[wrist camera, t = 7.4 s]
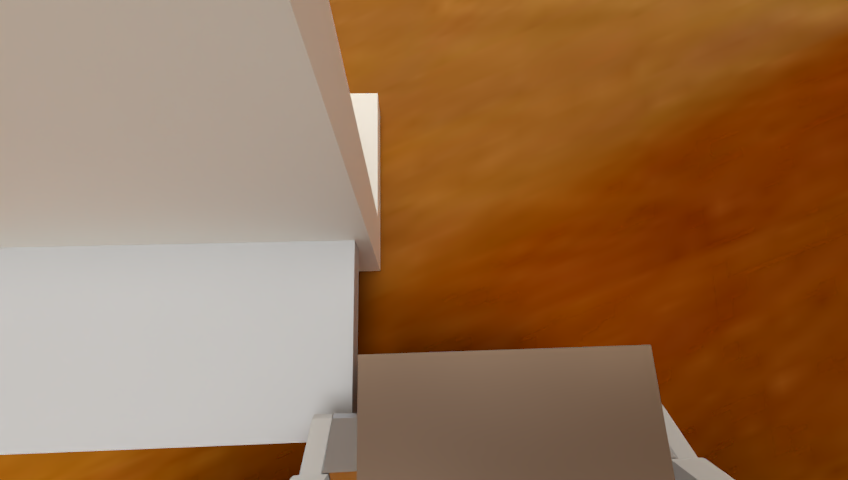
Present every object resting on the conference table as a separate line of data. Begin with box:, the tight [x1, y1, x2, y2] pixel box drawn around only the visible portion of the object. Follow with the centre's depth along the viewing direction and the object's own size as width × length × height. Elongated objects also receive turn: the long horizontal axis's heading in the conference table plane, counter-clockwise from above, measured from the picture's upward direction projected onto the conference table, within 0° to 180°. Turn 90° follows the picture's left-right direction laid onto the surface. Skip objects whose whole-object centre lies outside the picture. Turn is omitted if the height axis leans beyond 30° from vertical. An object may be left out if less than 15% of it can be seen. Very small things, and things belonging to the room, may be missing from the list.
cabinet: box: [357, 345, 675, 480], centre depth 12 cm, size 6×6×9 cm
